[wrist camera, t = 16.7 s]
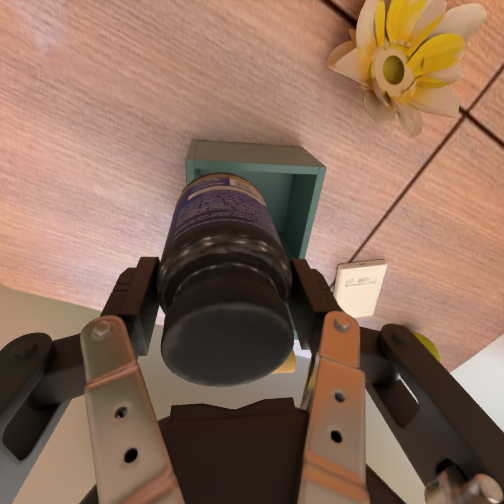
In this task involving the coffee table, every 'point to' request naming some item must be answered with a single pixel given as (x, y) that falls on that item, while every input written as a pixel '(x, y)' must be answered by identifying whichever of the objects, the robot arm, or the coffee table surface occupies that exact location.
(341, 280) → the hard drive
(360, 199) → the coffee table surface
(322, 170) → the chest
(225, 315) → the pill bottle
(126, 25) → the coffee table surface
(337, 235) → the coffee table surface
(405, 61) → the decorative flower
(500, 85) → the coffee table surface
